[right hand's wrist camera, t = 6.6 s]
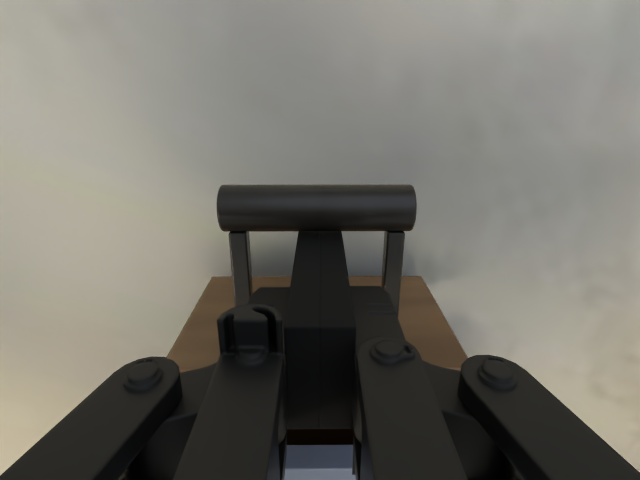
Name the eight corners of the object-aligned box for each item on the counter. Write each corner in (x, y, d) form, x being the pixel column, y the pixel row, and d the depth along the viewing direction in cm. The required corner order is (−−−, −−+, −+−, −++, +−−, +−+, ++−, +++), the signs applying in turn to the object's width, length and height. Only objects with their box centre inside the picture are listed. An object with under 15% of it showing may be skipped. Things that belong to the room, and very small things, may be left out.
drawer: (199, 161, 17) (129, 202, 11) (432, 161, 18) (503, 202, 11) (238, 534, 26) (212, 684, 19) (396, 533, 26) (423, 681, 19)
